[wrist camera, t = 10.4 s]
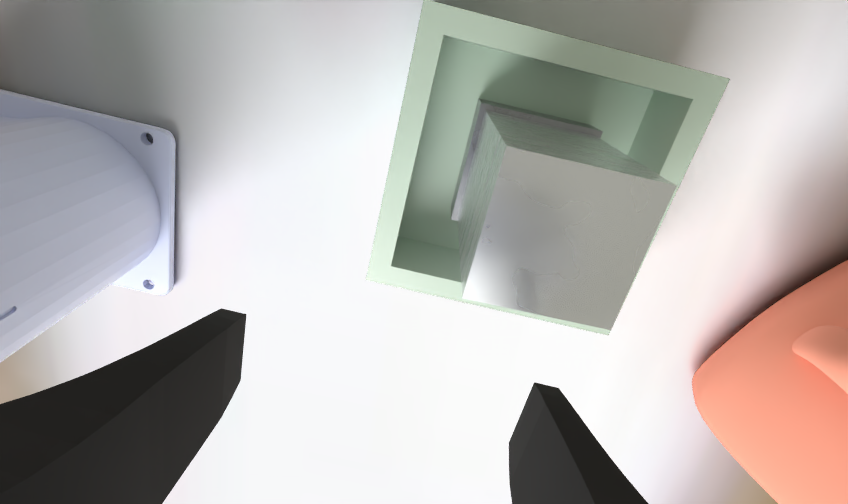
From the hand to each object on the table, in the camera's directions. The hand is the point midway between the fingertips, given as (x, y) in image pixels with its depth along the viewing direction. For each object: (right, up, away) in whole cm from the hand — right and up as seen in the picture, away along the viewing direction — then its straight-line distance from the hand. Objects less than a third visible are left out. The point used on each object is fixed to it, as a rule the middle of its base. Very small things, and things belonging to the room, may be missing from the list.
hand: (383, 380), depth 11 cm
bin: (+5, +7, +8) cm, 12 cm away
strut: (+5, +7, +7) cm, 11 cm away
